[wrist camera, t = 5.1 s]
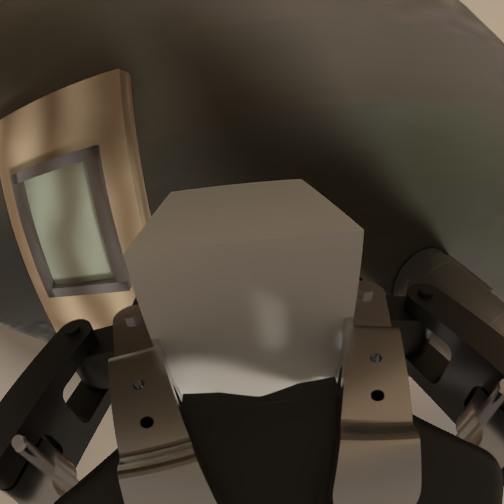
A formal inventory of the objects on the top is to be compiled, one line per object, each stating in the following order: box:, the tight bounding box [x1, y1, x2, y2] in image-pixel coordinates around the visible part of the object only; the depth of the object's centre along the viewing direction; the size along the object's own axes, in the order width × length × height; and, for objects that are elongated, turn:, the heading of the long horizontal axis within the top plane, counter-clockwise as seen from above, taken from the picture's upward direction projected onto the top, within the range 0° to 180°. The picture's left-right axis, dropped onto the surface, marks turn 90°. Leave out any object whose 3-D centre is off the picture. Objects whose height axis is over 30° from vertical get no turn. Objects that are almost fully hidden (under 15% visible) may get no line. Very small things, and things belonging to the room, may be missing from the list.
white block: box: [123, 179, 364, 396], centre depth 10 cm, size 5×7×7 cm
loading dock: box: [0, 68, 151, 332], centre depth 23 cm, size 15×25×4 cm, turn 5°
